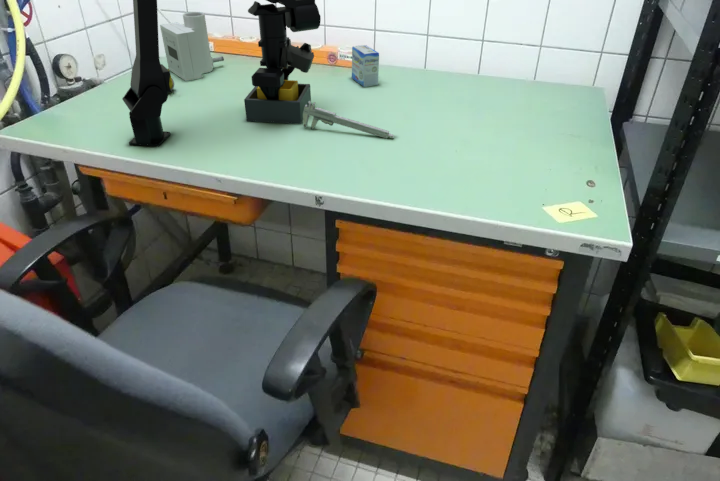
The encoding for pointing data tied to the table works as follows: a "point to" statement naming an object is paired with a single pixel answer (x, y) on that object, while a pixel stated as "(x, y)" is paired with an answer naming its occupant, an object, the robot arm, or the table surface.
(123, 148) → the table surface
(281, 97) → the small bin
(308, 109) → the caliper
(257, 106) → the big bin
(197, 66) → the grey machine part
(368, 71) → the medicine box
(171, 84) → the yellow ridged cone
